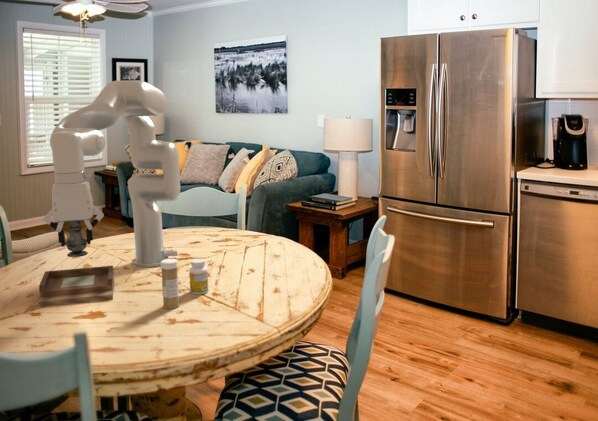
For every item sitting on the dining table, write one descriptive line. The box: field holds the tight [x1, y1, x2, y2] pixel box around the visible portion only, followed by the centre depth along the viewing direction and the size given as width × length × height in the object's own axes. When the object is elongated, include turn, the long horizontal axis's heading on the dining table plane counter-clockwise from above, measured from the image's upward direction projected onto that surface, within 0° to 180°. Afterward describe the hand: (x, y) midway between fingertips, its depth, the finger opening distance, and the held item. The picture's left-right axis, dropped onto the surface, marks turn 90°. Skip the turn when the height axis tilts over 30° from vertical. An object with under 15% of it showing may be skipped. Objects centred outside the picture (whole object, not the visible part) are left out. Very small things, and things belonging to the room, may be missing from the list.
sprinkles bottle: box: [160, 258, 180, 310], centre depth 165 cm, size 5×5×14 cm
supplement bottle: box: [189, 258, 209, 295], centre depth 178 cm, size 5×5×10 cm
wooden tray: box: [37, 265, 115, 308], centre depth 178 cm, size 20×18×5 cm
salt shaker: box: [65, 220, 89, 258], centre depth 160 cm, size 6×6×12 cm
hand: (76, 243), depth 160 cm, fingers closed on salt shaker, 5 cm apart
